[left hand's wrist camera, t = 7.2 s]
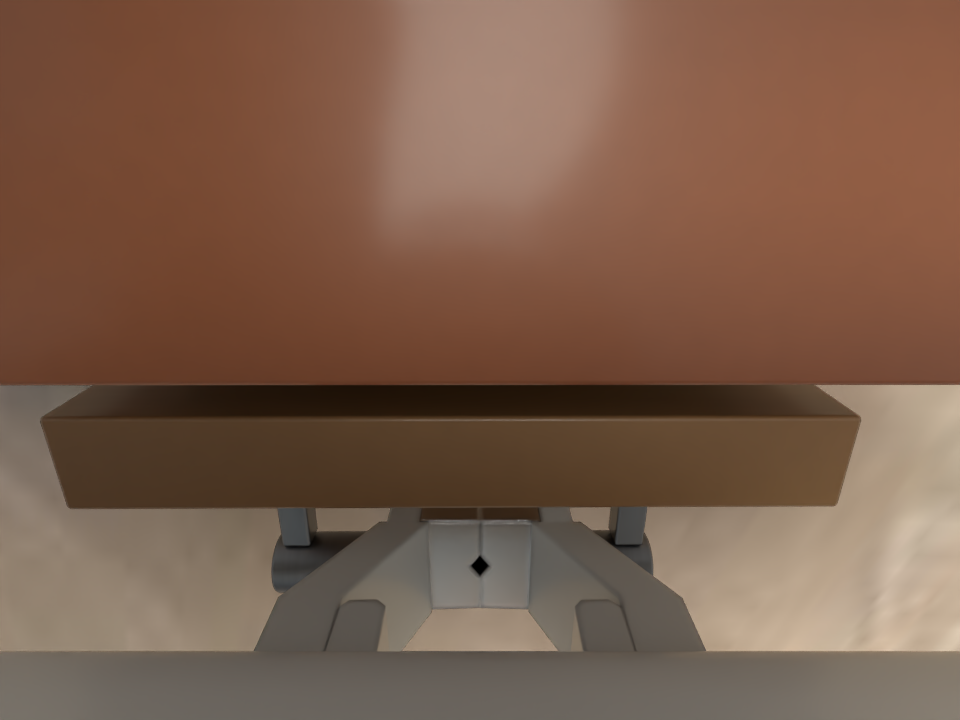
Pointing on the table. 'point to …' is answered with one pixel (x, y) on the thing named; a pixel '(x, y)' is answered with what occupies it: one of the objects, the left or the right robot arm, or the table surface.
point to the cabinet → (479, 192)
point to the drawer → (448, 452)
